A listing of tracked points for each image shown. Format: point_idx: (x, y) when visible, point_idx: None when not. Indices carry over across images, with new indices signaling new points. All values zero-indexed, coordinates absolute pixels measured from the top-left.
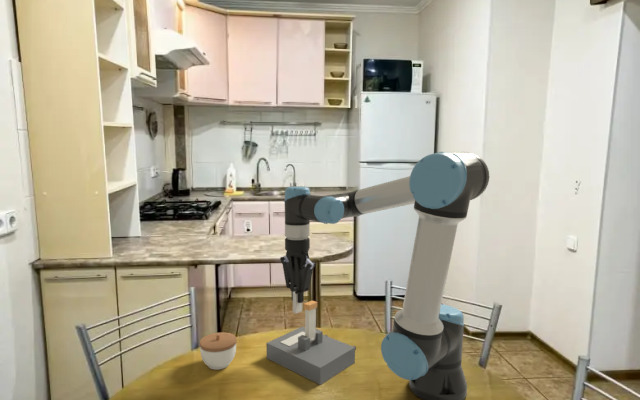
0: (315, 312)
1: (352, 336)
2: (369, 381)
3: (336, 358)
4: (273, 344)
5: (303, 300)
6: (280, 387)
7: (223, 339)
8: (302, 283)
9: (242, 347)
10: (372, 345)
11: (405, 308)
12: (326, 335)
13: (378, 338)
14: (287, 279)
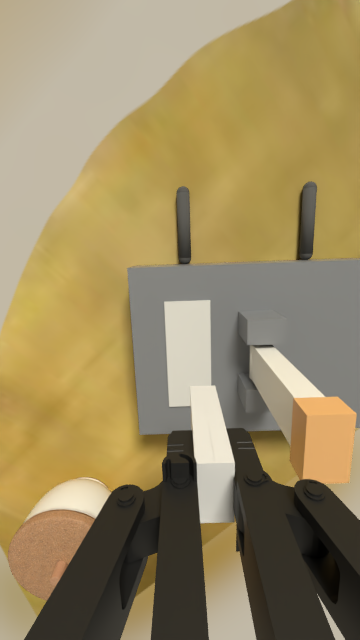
0: (315, 389)
1: (244, 106)
2: None
3: None
4: (163, 426)
5: (249, 435)
6: (271, 465)
7: (72, 555)
8: (350, 634)
9: (48, 414)
10: (340, 114)
11: None
12: (185, 192)
13: (331, 41)
14: (116, 635)
